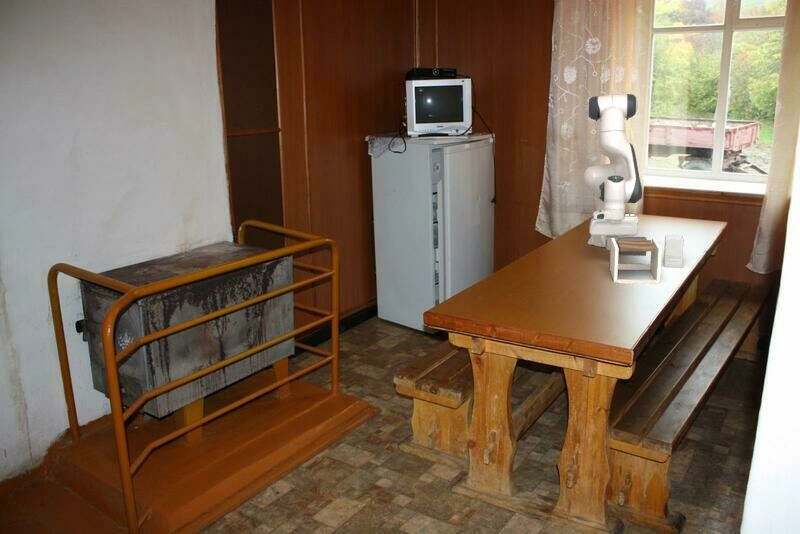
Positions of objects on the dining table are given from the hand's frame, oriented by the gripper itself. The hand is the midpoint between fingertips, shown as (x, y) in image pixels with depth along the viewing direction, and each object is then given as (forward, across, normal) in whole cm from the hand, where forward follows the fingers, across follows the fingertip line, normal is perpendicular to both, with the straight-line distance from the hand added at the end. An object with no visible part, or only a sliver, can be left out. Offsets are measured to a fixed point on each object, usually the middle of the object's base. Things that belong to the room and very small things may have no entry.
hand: (612, 244), depth 307 cm
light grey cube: (+2, 0, 0) cm, 2 cm away
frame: (+8, -7, +20) cm, 23 cm away
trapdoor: (+1, -7, +17) cm, 19 cm away
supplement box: (+8, -25, +3) cm, 27 cm away
